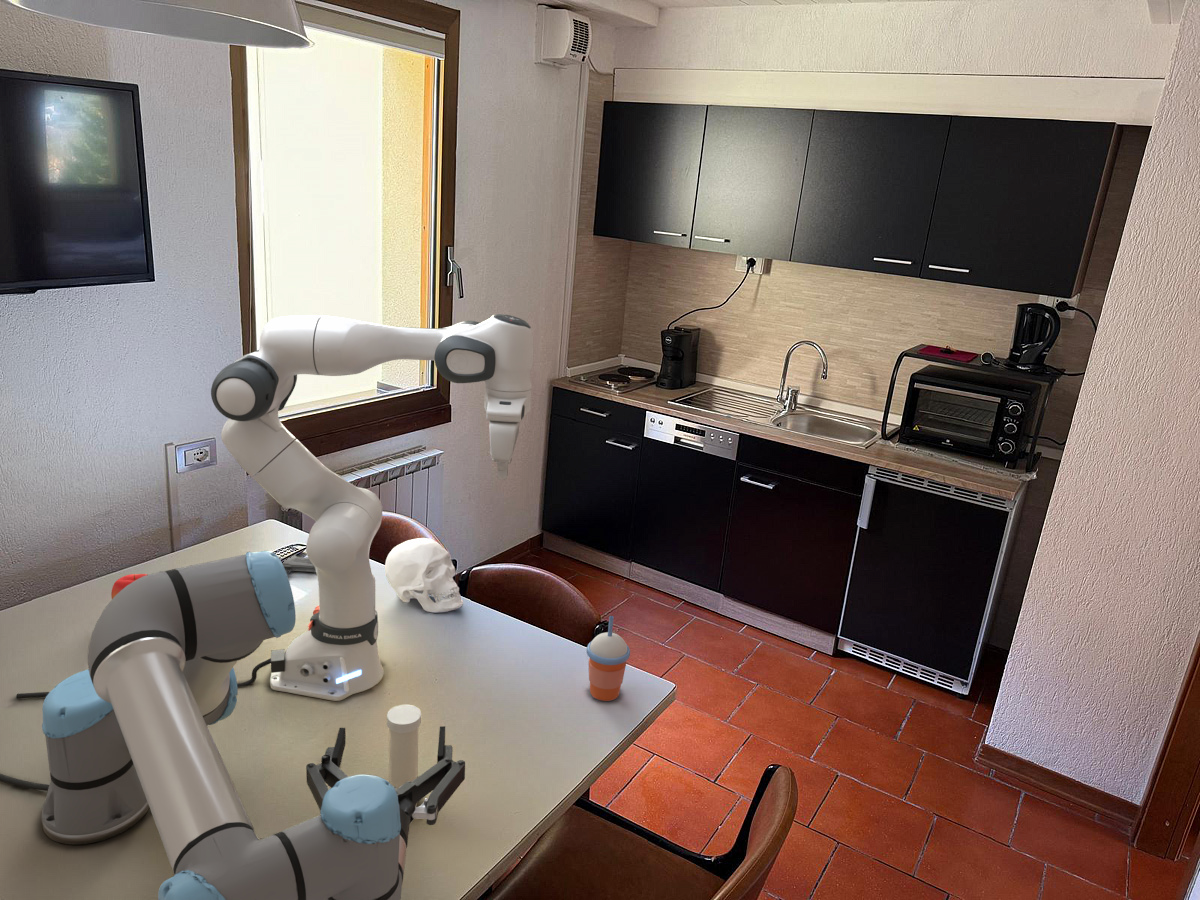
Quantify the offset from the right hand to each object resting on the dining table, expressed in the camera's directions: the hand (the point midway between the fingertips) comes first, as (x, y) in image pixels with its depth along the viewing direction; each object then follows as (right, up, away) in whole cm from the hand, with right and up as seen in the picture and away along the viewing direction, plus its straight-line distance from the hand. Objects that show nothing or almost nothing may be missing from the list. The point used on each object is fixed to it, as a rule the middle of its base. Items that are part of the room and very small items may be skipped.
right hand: (504, 470), depth 166 cm
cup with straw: (+20, -48, +14) cm, 53 cm away
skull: (-25, -34, +47) cm, 63 cm away
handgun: (-62, -29, +54) cm, 87 cm away
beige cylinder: (-15, -56, -22) cm, 62 cm away
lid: (-13, -40, -27) cm, 50 cm away
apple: (-87, -34, +29) cm, 98 cm away
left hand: (-10, -36, -47) cm, 60 cm away
